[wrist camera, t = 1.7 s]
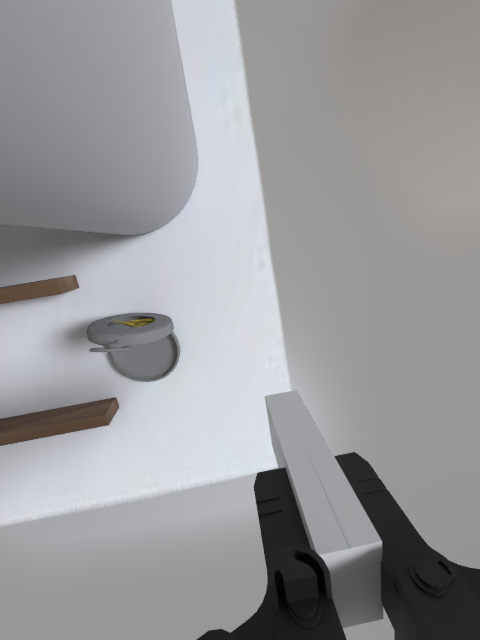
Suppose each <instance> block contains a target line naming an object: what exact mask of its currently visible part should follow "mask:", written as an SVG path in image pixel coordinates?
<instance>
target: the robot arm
mask: <svg viewBox="0 0 480 640" xmlns="http://www.w3.org/2000/svg"><path fill="white" fill-rule="evenodd" d="M265 400H266V407H267V413H268V420H269V426H270V433H271V440H272V446H273V449H274V453H275V456H276V460H277V463H278V467H279V469H274V470H269V471H264V472H259V473H257V477H256V480H255V484H254V491H255V498H256V504H257V510H258V515H259V523H260V529H261V535H262V541H263V548H264V554H265V560H266V566H267V575H268V584H267V591H266V594H265V597H264V600H263V602H262V604H261V606H260V607H259V609H258V610H257V612H256V613H255V614H254V615H253V616H252V617H251V618H250V619H248V620H247V621H246V622H245V623H243V624H242V625H241V626H239V627H238V628H237V629H235V630H234V631H233V632H231V633H229V632H227V631H225V630H222V629H217V630H211V631H208V632H206V633H205V634H204V635H202V636H201V637H200V638H198V639H197V640H346V637H345V634H344V631H343V628H345V627H349V626H354V625H358V624H363V623H367V622H371V621H376V620H380V619H383V607H384V609H385V611H386V613H387V615H388V617H389V619H390V621H391V624H392V626H393V628H394V630H395V640H480V569H474V568H468V567H465V566H461V565H458V564H455V563H453V562H451V561H449V560H447V558H445V557H444V556H442V555H441V554H440V553H438V552H436V551H435V550H433V549H432V548H431V547H429V546H428V545H427V543H426V542H425V541H424V540H423V539H422V538H421V536H420V535H419V533H418V532H417V531H416V529H415V528H414V526H413V525H412V524H411V522H410V521H409V519H408V518H407V516H406V515H405V514H404V512H403V511H402V509H401V508H400V507H399V505H398V504H397V502H396V501H395V500H394V498H393V497H392V495H391V494H390V492H389V491H388V490H387V489H386V487H385V485H384V484H383V483H382V481H381V480H380V479H379V478H378V475H377V474H376V472H375V471H374V470H373V468H372V467H371V465H370V464H369V463H368V462H367V461H366V460H364V459H363V458H362V457H361V456H359V455H358V454H357V453H355V452H353V453H348V454H343V455H338V456H334V455H333V453H332V452H331V450H330V448H329V446H328V445H327V443H326V441H325V439H324V438H323V436H322V434H321V432H320V430H319V429H318V427H317V425H316V423H315V422H314V420H313V418H312V416H311V414H310V413H309V411H308V409H307V407H306V406H305V404H304V402H303V400H302V399H301V397H300V395H299V393H298V391H297V390H296V391H290V392H285V393H280V394H274V395H269V396H265Z"/></svg>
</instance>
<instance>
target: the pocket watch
mask: <svg viewBox="0 0 480 640" xmlns="http://www.w3.org/2000/svg"><path fill="white" fill-rule="evenodd" d="M173 329H174V327H173V323H172V319H171V318H170V317H168V316H165V315H161V314H155V313H130V314H123V315H117V316H111V317H107V318H104V319H100V320H98V321H95V322H93V323H92V324H90V325H89V326H88V331H87V335H88V340H90V341H91V342H92V343H96V344H99V345H102V346H105V347H100V348H91V349H90V350H89V351H91V352H108V353H109V354H111V355H112V358H113V361H114V363H115V365H116V366H117V368H118V369H119V370H120V371H121V372H122V373H123V374H125V375H126V376H128V377H130V378H132V379H135V380H138V381H143V382H151V381H157V380H159V379H162V378H164V377H166V376H167V375H169V374H170V373H171V372H172V371H173V370H174V368H175V367H176V365H177V363H178V360H179V355H180V346H179V342H178V339H177V337H176V335H175V334H174V333H173Z"/></svg>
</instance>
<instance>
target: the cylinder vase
mask: <svg viewBox="0 0 480 640" xmlns="http://www.w3.org/2000/svg"><path fill="white" fill-rule="evenodd" d="M197 170H198V150H197V143H196V137H195V132H194V126H193V121H192V115H191V110H190V104H189V98H188V93H187V87H186V82H185V76H184V71H183V65H182V60H181V54H180V48H179V43H178V37H177V32H176V26H175V21H174V15H173V9H172V4H171V0H0V224H4V225H16V226H27V227H39V228H51V229H62V230H74V231H85V232H97V233H109V234H120V235H138V234H144V233H148V232H151V231H154V230H157V229H159V228H161V227H163V226H164V225H166V224H167V223H169V222H170V221H171V220H173V219H174V218H175V217H176V216H177V215H178V214H179V213H180V212H181V210H182V209H183V208H184V206H185V205H186V203H187V202H188V200H189V198H190V196H191V194H192V191H193V188H194V185H195V182H196V177H197Z"/></svg>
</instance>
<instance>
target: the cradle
mask: <svg viewBox="0 0 480 640" xmlns="http://www.w3.org/2000/svg"><path fill="white" fill-rule="evenodd" d="M77 288H79V285H78V282H77V279H76V276H75V275H72V276H66V277H60V278H54V279H48V280H42V281H36V282H30V283H24V284H18V285H12V286H6V287H0V304H3V303H9V302H14V301H20V300H26V299H32V298H38V297H44V296H50V295H56V294H62V293H65V292H68V291H71V290H74V289H77ZM118 408H119V405H118V402H117V399H116V398H111V399H105V400H100V401H95V402H89V403H84V404H79V405H73V406H68V407H63V408H57V409H52V410H47V411H41V412H36V413H31V414H25V415H20V416H15V417H9V418H4V419H0V446H2V445H7V444H12V443H18V442H23V441H28V440H33V439H38V438H44V437H49V436H54V435H59V434H65V433H70V432H75V431H80V430H85V429H91V428H96V427H101V426H106V425H109V424H110V422H111V420H112V419H113V417H114V415H115V414H116V412H117V410H118Z"/></svg>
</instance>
